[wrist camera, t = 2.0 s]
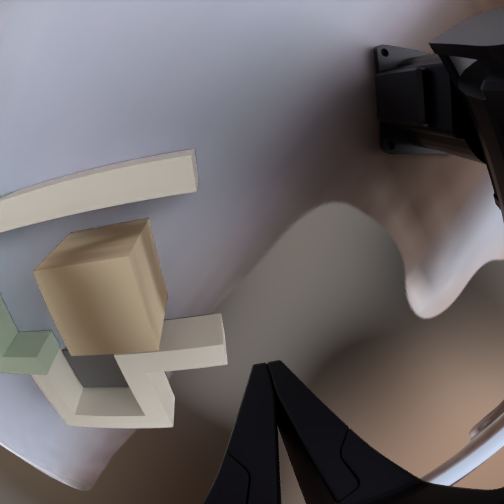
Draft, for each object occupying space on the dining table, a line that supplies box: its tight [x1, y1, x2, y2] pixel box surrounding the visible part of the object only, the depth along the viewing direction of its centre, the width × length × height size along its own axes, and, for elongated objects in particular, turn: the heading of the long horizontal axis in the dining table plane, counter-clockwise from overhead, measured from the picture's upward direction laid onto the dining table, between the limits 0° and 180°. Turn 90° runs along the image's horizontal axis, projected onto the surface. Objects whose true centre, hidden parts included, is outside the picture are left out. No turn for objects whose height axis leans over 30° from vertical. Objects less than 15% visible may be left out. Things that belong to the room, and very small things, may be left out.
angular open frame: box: [0, 149, 228, 428], centre depth 17 cm, size 18×18×3 cm
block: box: [33, 218, 168, 356], centre depth 15 cm, size 5×5×5 cm
